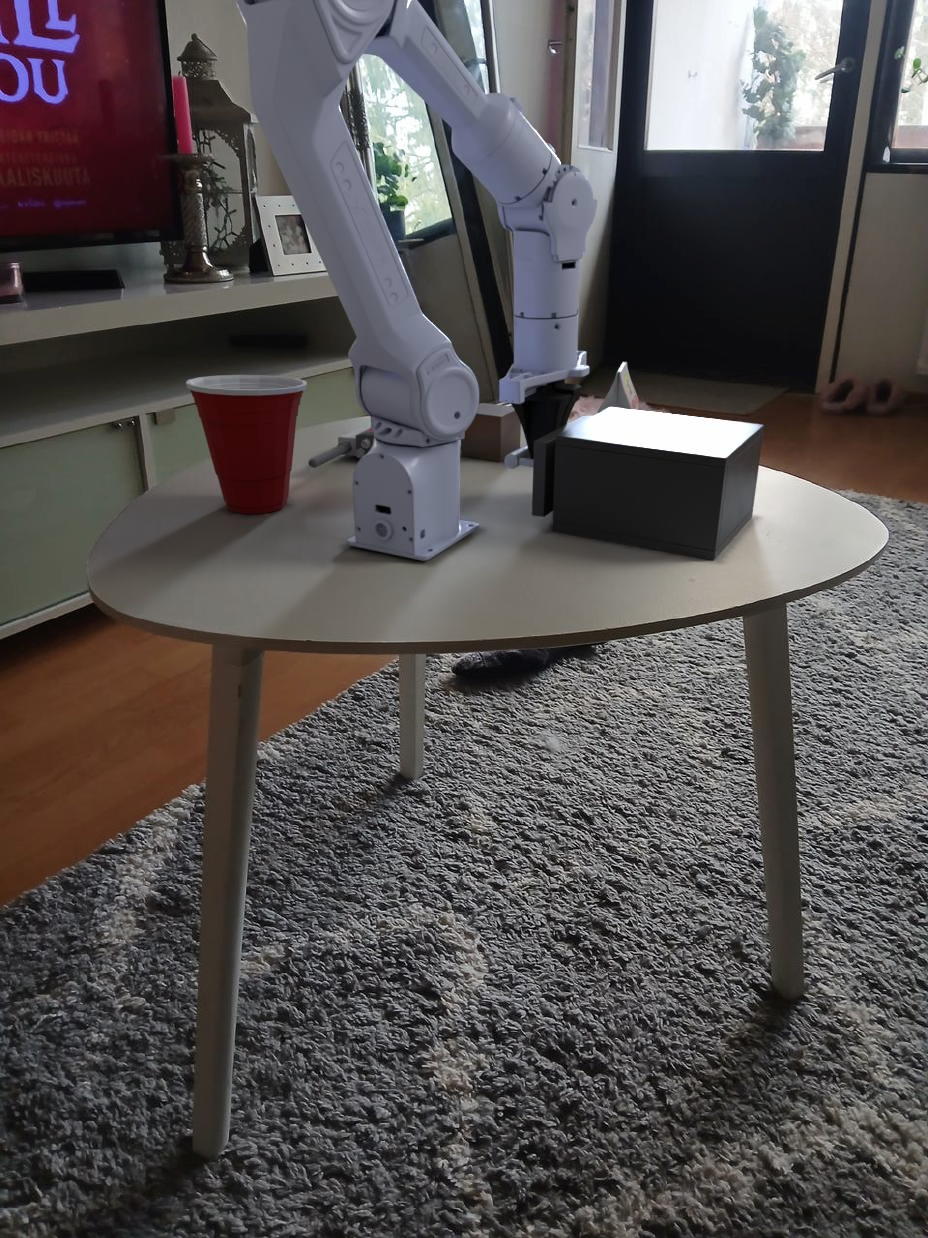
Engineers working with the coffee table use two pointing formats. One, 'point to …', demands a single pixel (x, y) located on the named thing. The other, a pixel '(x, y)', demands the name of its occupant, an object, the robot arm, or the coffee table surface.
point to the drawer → (541, 467)
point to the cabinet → (656, 480)
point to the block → (492, 433)
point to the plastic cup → (250, 436)
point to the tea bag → (621, 392)
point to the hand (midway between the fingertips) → (544, 463)
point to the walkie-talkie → (347, 446)
